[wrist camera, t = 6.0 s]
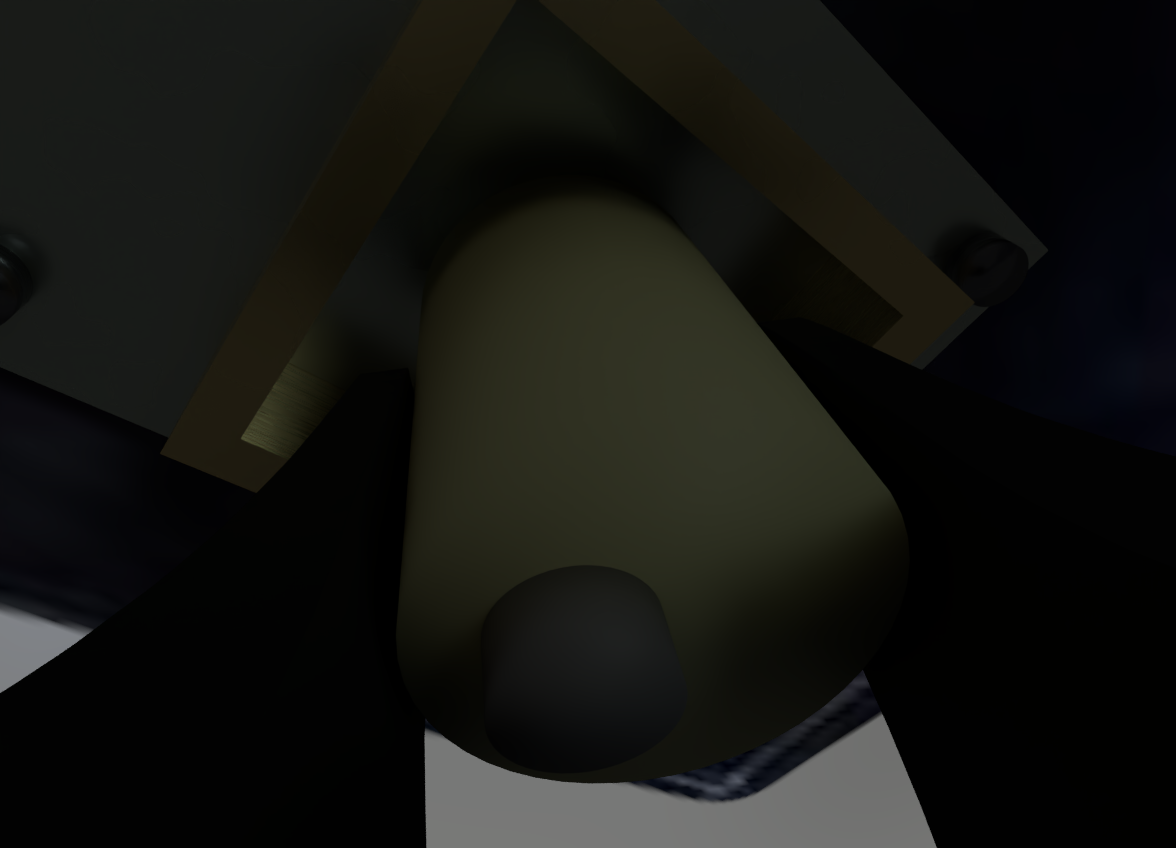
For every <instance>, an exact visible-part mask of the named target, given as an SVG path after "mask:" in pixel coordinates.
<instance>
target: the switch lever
mask: <svg viewBox="0 0 1176 848" xmlns="http://www.w3.org/2000/svg"><path fill="white" fill-rule="evenodd" d="M909 564H910V556H909V542H908V535H907V531H906V528H905V524H904V520H903V517H902V514H901V512H900V510H899V508H898V506H897V504H896V502H895V500H894V498H893V496H892V494H891V492H890V491H889V490H888V489H887V487H886V486H885V485H884V484H883V482H882V481H881V480H880V478H879V477H878V476H877V475H876V473H875V472H874V471H873V470H872V468H871V467H870V466H869V465H868V463H867V462H866V461H865V459H864V458H863V457H862V456H861V454H860V453H859V452H858V451H857V449H856V448H855V447H854V446H853V444H852V443H851V442H850V441H849V439H848V438H847V437H846V435H845V434H844V433H843V432H842V430H841V429H840V428H839V427H838V425H837V424H836V423H835V422H834V420H833V419H832V418H831V416H830V415H829V414H828V413H827V411H826V410H825V409H824V408H823V406H822V405H821V404H820V403H819V401H818V400H817V399H816V398H815V396H814V395H813V394H812V392H811V391H810V390H809V389H808V387H807V386H806V385H805V384H804V382H803V381H802V380H801V379H800V377H799V376H798V375H797V373H796V372H795V371H794V370H793V368H792V367H791V366H790V365H789V363H788V362H787V361H786V360H785V358H784V357H783V356H782V354H781V353H780V352H779V351H778V349H777V348H776V347H775V346H774V344H773V343H772V342H771V341H770V339H769V338H768V337H767V336H766V334H765V333H764V332H763V330H762V329H761V328H760V327H759V325H758V324H757V323H756V322H755V320H754V319H753V318H752V317H751V315H750V314H749V313H748V311H747V310H746V309H745V308H744V306H743V305H742V304H741V303H740V301H739V300H738V299H737V298H736V296H735V295H734V294H733V293H732V291H731V290H730V289H729V287H728V286H727V285H726V284H725V282H724V281H723V280H722V279H721V277H720V276H719V275H718V274H717V272H716V271H715V270H714V268H713V267H712V266H711V265H710V263H709V262H708V261H707V260H706V258H705V257H704V256H703V255H702V253H701V252H700V251H699V250H698V248H697V247H696V246H695V244H694V243H693V242H692V241H691V239H690V238H689V237H688V236H687V234H686V233H685V232H684V231H683V229H682V228H681V227H680V225H679V224H678V223H677V222H676V220H675V219H674V218H673V217H672V216H671V215H670V214H669V213H668V212H667V211H666V210H665V209H664V208H662V207H661V206H660V205H659V204H657V203H656V202H655V201H653V200H652V199H650V198H649V197H648V196H646V195H645V194H643V193H641V192H639V191H637V190H635V189H633V188H631V187H629V186H626V185H624V184H621V183H618V182H615V181H612V180H609V179H604V178H598V177H593V176H585V175H558V176H547V177H543V178H538V179H533V180H529V181H526V182H523V183H520V184H517V185H515V186H512V187H509V188H507V189H505V190H503V191H501V192H499V193H497V194H495V195H493V196H491V197H490V198H488V199H487V200H485V201H484V202H482V203H481V204H480V205H478V206H477V207H475V208H474V209H473V210H471V211H470V212H469V213H468V214H467V215H466V216H465V217H464V218H463V219H462V220H461V221H460V222H459V223H458V224H457V225H456V226H455V227H454V229H453V230H452V231H451V232H450V233H449V235H448V236H447V237H446V238H445V240H444V242H443V243H442V245H441V247H440V248H439V250H438V252H437V253H436V255H435V257H434V259H433V262H432V264H431V266H430V269H429V271H428V274H427V278H426V281H425V285H424V289H423V296H422V304H421V315H420V328H419V341H418V354H417V367H416V380H415V393H414V406H413V419H412V432H411V445H410V458H409V471H408V484H407V497H406V509H405V522H404V535H403V548H402V561H401V574H400V587H399V600H398V613H397V626H396V646H397V660H398V663H399V667H400V671H401V674H402V678H403V681H404V684H405V686H406V688H407V690H408V692H409V694H410V696H411V698H412V700H413V702H414V704H415V705H416V706H417V708H418V709H419V710H420V711H421V713H422V714H423V715H424V717H425V718H426V719H427V721H428V722H429V723H430V724H431V725H432V726H433V727H434V728H436V729H437V730H438V731H439V732H440V733H441V734H442V735H443V736H444V737H445V738H447V739H448V740H449V741H451V742H452V743H454V744H455V745H457V746H458V747H460V748H461V749H462V750H464V751H466V752H467V753H470V754H471V755H473V756H475V757H477V758H479V759H481V760H483V761H485V762H487V763H490V764H493V765H495V766H498V767H501V768H503V769H506V770H509V771H512V772H516V773H520V774H524V775H528V776H532V777H535V778H542V779H548V780H555V781H561V782H576V783H620V782H631V781H641V780H648V779H654V778H660V777H666V776H672V775H676V774H680V773H684V772H688V771H692V770H696V769H700V768H703V767H706V766H709V765H712V764H715V763H718V762H721V761H724V760H727V759H730V758H732V757H735V756H737V755H739V754H742V753H744V752H747V751H749V750H752V749H754V748H756V747H758V746H760V745H762V744H764V743H766V742H768V741H770V740H772V739H774V738H776V737H778V736H779V735H781V734H783V733H785V732H786V731H788V730H790V729H791V728H793V727H795V726H796V725H798V724H800V723H801V722H803V721H804V720H805V719H807V718H808V717H810V716H811V715H812V714H814V713H815V712H817V711H818V710H819V709H821V708H822V707H824V706H825V705H826V704H827V703H828V702H829V701H831V700H832V699H833V698H834V697H835V696H836V695H838V694H839V693H840V692H841V691H842V690H844V689H845V687H846V686H847V685H848V684H849V683H850V682H851V681H852V680H853V679H854V678H855V677H856V676H857V675H858V674H859V673H860V672H861V671H862V670H863V669H864V667H865V666H866V665H867V663H868V662H869V661H870V660H871V658H872V657H873V656H874V655H875V653H876V652H877V651H878V649H879V648H880V646H881V644H882V643H883V641H884V640H885V638H886V636H887V635H888V633H889V631H890V630H891V628H892V626H893V623H894V621H895V619H896V617H897V614H898V612H899V610H900V608H901V605H902V601H903V598H904V594H905V590H906V587H907V582H908V573H909Z"/></svg>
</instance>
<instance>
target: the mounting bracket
mask: <svg viewBox="0 0 1176 848" xmlns="http://www.w3.org/2000/svg"><path fill="white" fill-rule="evenodd" d="M558 175H585V176H593V177H598V178H604V179H609V180H612V181H615V182H618V183H621V184H624V185H626V186H629V187H631V188H633V189H635V190H637V191H639V192H641V193H643V194H645V195H646V196H648V197H649V198H650V199H652V200H653V201H655V202H656V203H657V204H659V205H660V206H661V207H662V208H664V209H665V210H666V211H667V212H668V213H669V214H670V215H671V216H672V217H673V218H674V219H675V220H676V222H677V223H678V224H679V225H680V227H681V228H682V229H683V231H684V232H685V233H686V234H687V236H688V237H689V238H690V239H691V241H692V242H693V243H694V244H695V246H696V247H697V248H698V250H699V251H700V252H701V253H702V255H703V256H704V257H705V258H706V260H707V261H708V262H709V263H710V265H711V266H712V267H713V268H714V270H715V271H716V272H717V274H718V275H719V276H720V277H721V279H722V280H723V281H724V282H725V284H726V285H727V286H728V287H729V289H730V290H731V291H732V293H733V294H734V295H735V296H736V298H737V299H738V300H739V301H740V303H741V304H742V305H743V306H744V308H745V309H746V310H747V311H748V313H749V314H750V315H751V317H752V318H753V319H754V320H755V322H756V323H759V322H767V321H774V320H782V319H790V318H798V317H801V318H805V319H808V320H811V321H814V322H816V323H819V324H821V325H824V326H826V327H829V328H831V329H833V330H836V331H838V332H840V333H842V334H845V335H847V336H849V337H851V338H853V339H856V340H858V341H860V342H862V343H864V344H866V345H869V346H871V347H873V348H875V349H877V350H879V351H882V352H884V353H886V354H888V355H890V356H893V357H895V358H897V359H899V360H901V361H903V362H906V363H908V364H910V365H912V366H914V367H917V368H919V369H921V370H922V369H923V368H924V367H926V366H927V365H928V364H929V363H930V362H931V361H932V360H933V359H934V358H935V357H936V356H937V355H938V354H939V353H940V352H941V351H943V350H944V349H945V348H946V347H947V346H948V345H949V344H950V343H951V342H952V341H953V340H954V339H955V338H956V337H957V336H958V335H959V334H961V333H962V332H963V331H964V330H965V329H966V328H967V327H968V326H969V325H970V324H971V323H972V322H973V321H974V320H975V319H976V318H977V317H979V316H980V315H981V314H982V313H983V312H984V311H985V310H986V309H987V308H988V307H989V306H994V305H997V304H999V303H1001V302H1003V301H1005V300H1006V299H1008V298H1009V297H1010V296H1012V295H1013V294H1014V293H1015V292H1016V291H1017V290H1018V288H1019V287H1020V286H1021V284H1022V283H1023V281H1024V279H1025V277H1026V275H1027V272H1028V269H1029V268H1030V267H1032V266H1033V265H1034V264H1035V263H1036V262H1037V261H1038V260H1039V259H1040V258H1041V257H1042V256H1043V255H1044V254H1045V253H1046V252H1047V251H1048V249H1047V248H1046V247H1045V246H1044V245H1043V244H1042V243H1041V242H1040V241H1039V239H1038V238H1037V237H1036V236H1035V235H1034V234H1033V233H1032V232H1031V231H1030V230H1029V229H1028V227H1027V226H1026V225H1025V224H1024V223H1023V222H1022V221H1021V220H1020V219H1019V218H1018V216H1017V215H1016V214H1015V213H1014V212H1013V211H1012V210H1011V209H1010V208H1009V207H1008V206H1007V204H1006V203H1005V202H1004V201H1003V200H1002V199H1001V198H1000V197H999V196H998V195H997V194H996V192H995V191H994V190H993V189H992V188H991V187H990V186H989V185H988V184H987V183H986V181H985V180H984V179H983V178H982V177H981V176H980V175H979V174H978V173H977V172H976V171H975V169H974V168H973V167H972V166H971V165H970V164H969V163H968V162H967V161H966V160H965V159H964V157H963V156H962V155H961V154H960V153H959V152H958V151H957V150H956V149H955V148H954V147H953V145H952V144H951V143H950V142H949V141H948V140H947V139H946V138H945V137H944V136H943V134H942V133H941V132H940V131H939V130H938V129H937V128H936V127H935V126H934V125H933V124H932V122H931V121H930V120H929V119H928V118H927V117H926V116H925V115H924V114H923V113H922V112H921V110H920V109H919V108H918V107H917V106H916V105H915V104H914V103H913V102H912V101H911V100H910V98H909V97H908V96H907V95H906V94H905V93H904V92H903V91H902V90H901V89H900V87H899V86H898V85H897V84H896V83H895V82H894V81H893V80H892V79H891V78H890V77H889V75H888V74H887V73H886V72H885V71H884V70H883V69H882V68H881V67H880V66H879V65H878V63H877V62H876V61H875V60H874V59H873V58H872V57H871V56H870V55H869V54H868V52H867V51H866V50H865V49H864V48H863V47H862V46H861V45H860V44H859V43H858V42H857V40H856V39H855V38H854V37H853V36H852V35H851V34H850V33H849V32H848V31H847V30H846V28H845V27H844V26H843V25H842V24H841V23H840V22H839V21H838V20H837V19H836V18H835V16H834V15H833V14H832V13H831V12H830V11H829V10H828V9H827V8H826V7H825V5H824V4H823V3H822V2H821V1H820V0H0V367H1V368H4V369H6V370H8V371H11V372H13V373H15V374H18V375H20V376H23V377H25V378H27V379H30V380H32V381H35V382H37V383H39V384H42V385H44V386H46V387H49V388H51V389H54V390H56V391H58V392H61V393H63V394H66V395H68V396H70V397H73V398H75V399H77V400H80V401H82V402H85V403H87V404H89V405H92V406H94V407H97V408H99V409H101V410H104V411H106V412H109V413H111V414H113V415H116V416H118V417H120V418H123V419H125V420H128V421H130V422H132V423H135V424H137V425H140V426H142V427H144V428H147V429H149V430H151V431H154V432H156V433H159V434H161V435H163V436H166V437H168V440H167V441H166V443H165V445H164V447H163V449H162V451H161V453H160V454H162V455H164V456H167V457H169V458H171V459H174V460H176V461H179V462H181V463H184V464H186V465H189V466H191V467H194V468H196V469H198V470H201V471H203V472H206V473H208V474H211V475H213V476H216V477H218V478H221V479H223V480H225V481H228V482H230V483H233V484H235V485H238V486H240V487H243V488H245V489H248V490H250V491H252V492H255V493H257V492H258V491H259V490H260V489H261V488H262V487H263V486H264V485H265V484H266V483H267V482H268V481H269V480H270V479H271V478H272V477H273V475H274V474H275V473H276V472H277V471H278V470H279V469H280V468H281V467H282V466H283V465H284V464H285V463H286V462H287V461H288V460H289V459H290V458H291V456H292V455H293V454H294V453H295V452H296V451H297V449H298V448H299V447H300V446H301V445H302V444H303V442H304V441H305V440H306V439H307V438H308V437H309V435H310V434H311V433H312V432H313V431H314V430H315V428H316V427H317V426H318V425H319V424H320V422H321V421H322V420H323V419H324V417H325V416H326V415H327V414H328V413H329V411H330V410H331V409H332V408H333V406H334V405H335V404H336V403H337V402H338V400H339V399H340V398H341V397H342V395H343V394H344V393H345V392H346V391H347V389H348V388H349V387H350V386H351V384H352V383H353V382H354V381H355V380H356V379H357V377H358V376H359V375H360V374H363V373H371V372H379V371H387V370H394V369H402V368H408V369H409V374H410V378H411V382H412V387H413V391H414V393H415V380H416V367H417V354H418V341H419V328H420V315H421V304H422V296H423V289H424V285H425V281H426V278H427V274H428V271H429V269H430V266H431V264H432V262H433V259H434V257H435V255H436V253H437V252H438V250H439V248H440V247H441V245H442V243H443V242H444V240H445V238H446V237H447V236H448V235H449V233H450V232H451V231H452V230H453V229H454V227H455V226H456V225H457V224H458V223H459V222H460V221H461V220H462V219H463V218H464V217H465V216H466V215H467V214H468V213H469V212H470V211H471V210H473V209H474V208H475V207H477V206H478V205H480V204H481V203H482V202H484V201H485V200H487V199H488V198H490V197H491V196H493V195H495V194H497V193H499V192H501V191H503V190H505V189H507V188H509V187H512V186H515V185H517V184H520V183H523V182H526V181H529V180H533V179H538V178H543V177H547V176H558Z"/></svg>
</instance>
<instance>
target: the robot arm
mask: <svg viewBox="0 0 1176 848" xmlns="http://www.w3.org/2000/svg"><path fill="white" fill-rule="evenodd" d="M757 324H758V325H759V327H760V328H761V329H762V330H763V332H764V333H765V334H766V336H767V337H768V338H769V339H770V341H771V342H772V343H773V344H774V346H775V347H776V348H777V349H778V351H779V352H780V353H781V354H782V356H783V357H784V358H785V360H786V361H787V362H788V363H789V365H790V366H791V367H792V368H793V370H794V371H795V372H796V373H797V375H798V376H799V377H800V379H801V380H802V381H803V382H804V384H805V385H806V386H807V387H808V389H809V390H810V391H811V392H812V394H813V395H814V396H815V398H816V399H817V400H818V401H819V403H820V404H821V405H822V406H823V408H824V409H825V410H826V411H827V413H828V414H829V415H830V416H831V418H832V419H833V420H834V422H835V423H836V424H837V425H838V427H839V428H840V429H841V430H842V432H843V433H844V434H845V435H846V437H847V438H848V439H849V441H850V442H851V443H852V444H853V446H854V447H855V448H856V449H857V451H858V452H859V453H860V454H861V456H862V457H863V458H864V459H865V461H866V462H867V463H868V465H869V466H870V467H871V468H872V470H873V471H874V472H875V473H876V475H877V476H878V477H879V478H880V480H881V481H882V482H883V484H884V485H885V486H886V487H887V489H888V490H889V491H890V492H891V494H892V496H893V498H894V500H895V502H896V504H897V506H898V508H899V510H900V512H901V514H902V517H903V520H904V524H905V528H906V531H907V535H908V542H909V556H910V564H909V573H908V582H907V587H906V590H905V594H904V598H903V601H902V605H901V608H900V610H899V612H898V614H897V617H896V619H895V621H894V623H893V626H892V628H891V630H890V631H889V633H888V635H887V636H886V638H885V640H884V641H883V643H882V644H881V646H880V648H879V649H878V651H877V652H876V653H875V655H874V656H873V657H872V658H871V660H870V661H869V662H868V663H867V665H866V666H865V667H864V669H863V671H864V673H865V675H866V678H867V680H868V682H869V684H870V687H871V689H872V691H873V693H874V696H875V698H876V700H877V703H878V705H879V707H880V709H881V712H882V714H883V716H884V718H885V720H886V723H887V725H888V727H889V730H890V732H891V734H892V737H893V739H894V742H895V744H896V747H897V749H898V751H899V754H900V756H901V759H902V761H903V764H904V766H905V768H906V771H907V773H908V776H909V778H910V780H911V783H912V785H913V788H914V790H915V793H916V795H917V797H918V800H919V802H920V805H921V807H922V810H923V813H924V815H925V817H926V820H927V823H928V826H929V828H930V830H931V833H932V836H933V839H934V841H935V844H936V847H937V848H1176V456H1172V455H1167V454H1163V453H1159V452H1155V451H1151V450H1147V449H1144V448H1140V447H1137V446H1133V445H1129V444H1126V443H1122V442H1119V441H1115V440H1111V439H1108V438H1105V437H1101V436H1098V435H1095V434H1092V433H1089V432H1086V431H1083V430H1079V429H1076V428H1073V427H1070V426H1067V425H1064V424H1061V423H1057V422H1054V421H1051V420H1048V419H1045V418H1042V417H1039V416H1036V415H1033V414H1031V413H1028V412H1025V411H1022V410H1019V409H1017V408H1014V407H1011V406H1009V405H1006V404H1004V403H1001V402H998V401H996V400H993V399H991V398H988V397H986V396H983V395H981V394H978V393H976V392H973V391H971V390H968V389H965V388H963V387H961V386H958V385H956V384H954V383H951V382H949V381H946V380H944V379H942V378H939V377H937V376H935V375H933V374H930V373H928V372H926V371H923V370H921V369H919V368H917V367H914V366H912V365H910V364H908V363H906V362H903V361H901V360H899V359H897V358H895V357H893V356H890V355H888V354H886V353H884V352H882V351H879V350H877V349H875V348H873V347H871V346H869V345H866V344H864V343H862V342H860V341H858V340H856V339H853V338H851V337H849V336H847V335H845V334H842V333H840V332H838V331H836V330H833V329H831V328H829V327H826V326H824V325H821V324H819V323H816V322H814V321H811V320H808V319H805V318H801V317H798V318H790V319H782V320H774V321H767V322H759V323H757ZM413 406H414V391H413V387H412V382H411V378H410V374H409V369H408V368H402V369H394V370H387V371H379V372H371V373H363V374H360V375H359V376H358V377H357V379H356V380H355V381H354V382H353V383H352V384H351V386H350V387H349V388H348V389H347V391H346V392H345V393H344V394H343V395H342V397H341V398H340V399H339V400H338V402H337V403H336V404H335V405H334V406H333V408H332V409H331V410H330V411H329V413H328V414H327V415H326V416H325V417H324V419H323V420H322V421H321V422H320V424H319V425H318V426H317V427H316V428H315V430H314V431H313V432H312V433H311V434H310V435H309V437H308V438H307V439H306V440H305V441H304V442H303V444H302V445H301V446H300V447H299V448H298V449H297V451H296V452H295V453H294V454H293V455H292V456H291V458H290V459H289V460H288V461H287V462H286V463H285V464H284V465H283V466H282V467H281V468H280V469H279V470H278V471H277V472H276V473H275V474H274V475H273V477H272V478H271V479H270V480H269V481H268V482H267V483H266V484H265V485H264V486H263V487H262V488H261V489H260V490H259V491H258V492H257V493H256V494H255V495H254V496H253V497H252V498H251V499H250V500H249V501H248V502H247V504H246V505H245V506H244V507H243V508H242V509H241V510H240V511H239V512H238V513H237V514H236V515H235V516H234V517H233V518H231V519H230V520H229V521H228V522H227V523H226V524H225V525H224V526H223V527H222V528H221V529H220V530H219V531H217V532H216V533H215V534H214V535H213V536H212V537H211V538H210V539H209V540H208V541H206V542H205V543H204V544H203V545H202V546H201V547H199V548H198V549H197V550H196V551H195V552H194V553H192V554H191V555H190V556H189V557H188V558H186V559H185V560H184V561H183V562H182V563H181V564H179V565H178V566H177V567H176V568H175V569H174V570H172V571H171V572H170V573H169V574H168V575H166V576H165V577H164V578H163V579H161V580H160V581H159V582H158V583H156V584H155V585H154V586H152V587H151V588H150V589H148V590H147V591H146V592H144V593H143V594H142V595H140V596H139V597H138V598H136V599H135V600H133V601H132V602H131V603H129V604H128V605H127V606H125V607H124V608H123V609H121V610H120V611H119V612H117V613H116V614H115V615H113V616H112V617H110V618H109V619H108V620H106V621H105V622H104V623H102V624H101V625H100V626H98V627H97V628H96V629H94V630H93V631H92V632H90V633H89V634H87V635H86V636H85V637H83V638H82V639H81V640H79V641H78V642H77V643H75V644H74V645H72V646H71V647H70V648H68V649H67V650H65V651H64V652H62V653H61V654H59V655H58V656H56V657H55V658H54V659H52V660H50V661H49V662H47V663H46V664H44V665H43V666H41V667H40V668H38V669H37V670H35V671H34V672H32V673H31V674H29V675H28V676H26V677H25V678H23V679H22V680H20V681H19V682H17V683H16V684H14V685H12V686H11V687H9V688H8V689H6V690H5V691H3V692H1V693H0V848H426V814H425V746H424V744H425V743H424V736H425V717H424V715H423V714H422V713H421V711H420V710H419V709H418V708H417V706H416V705H415V704H414V702H413V700H412V698H411V696H410V694H409V692H408V690H407V688H406V686H405V684H404V681H403V678H402V674H401V671H400V667H399V663H398V660H397V646H396V626H397V613H398V600H399V587H400V574H401V561H402V548H403V535H404V522H405V509H406V497H407V484H408V471H409V458H410V445H411V432H412V419H413Z"/></svg>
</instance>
